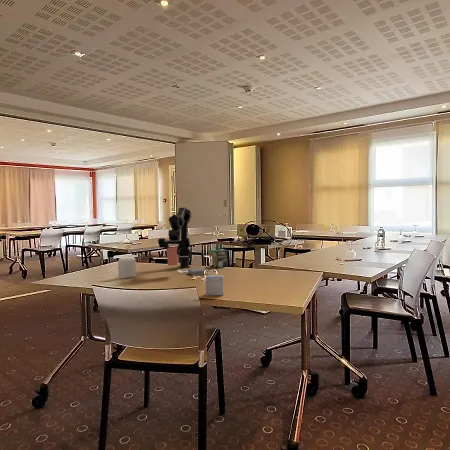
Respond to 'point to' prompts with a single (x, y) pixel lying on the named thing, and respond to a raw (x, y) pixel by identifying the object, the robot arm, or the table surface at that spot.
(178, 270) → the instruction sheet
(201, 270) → the base brick
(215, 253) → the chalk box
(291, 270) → the table surface
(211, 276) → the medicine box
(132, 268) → the photo printer
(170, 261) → the red block
